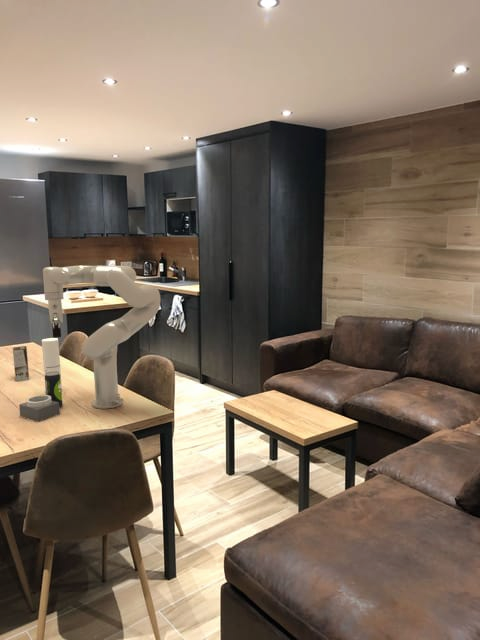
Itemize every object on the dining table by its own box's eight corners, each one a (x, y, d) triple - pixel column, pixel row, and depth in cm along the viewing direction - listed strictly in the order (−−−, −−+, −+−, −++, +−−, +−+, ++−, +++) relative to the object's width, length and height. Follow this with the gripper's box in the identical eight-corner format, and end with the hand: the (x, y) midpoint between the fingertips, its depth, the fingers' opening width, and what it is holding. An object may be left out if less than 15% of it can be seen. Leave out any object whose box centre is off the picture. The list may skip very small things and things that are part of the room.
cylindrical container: (56, 394, 232) (52, 341, 227) (42, 393, 233) (38, 341, 229) (65, 389, 238) (61, 338, 234) (51, 388, 240) (47, 337, 236)
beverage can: (44, 407, 213) (41, 373, 211) (56, 403, 218) (54, 370, 216) (53, 410, 210) (50, 376, 207) (65, 406, 215) (63, 372, 212)
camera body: (59, 414, 205) (58, 397, 204) (38, 421, 197) (37, 404, 196) (41, 408, 212) (40, 393, 211) (20, 416, 204) (18, 399, 202)
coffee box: (29, 380, 255) (26, 349, 252) (15, 381, 253) (12, 350, 250) (29, 375, 264) (26, 345, 261) (16, 376, 261) (13, 346, 258)
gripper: (64, 297, 207) (66, 338, 210) (62, 293, 223) (65, 330, 226) (44, 298, 204) (47, 339, 207) (44, 294, 220) (47, 332, 223)
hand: (56, 335), depth 216 cm, fingers open, 9 cm apart
